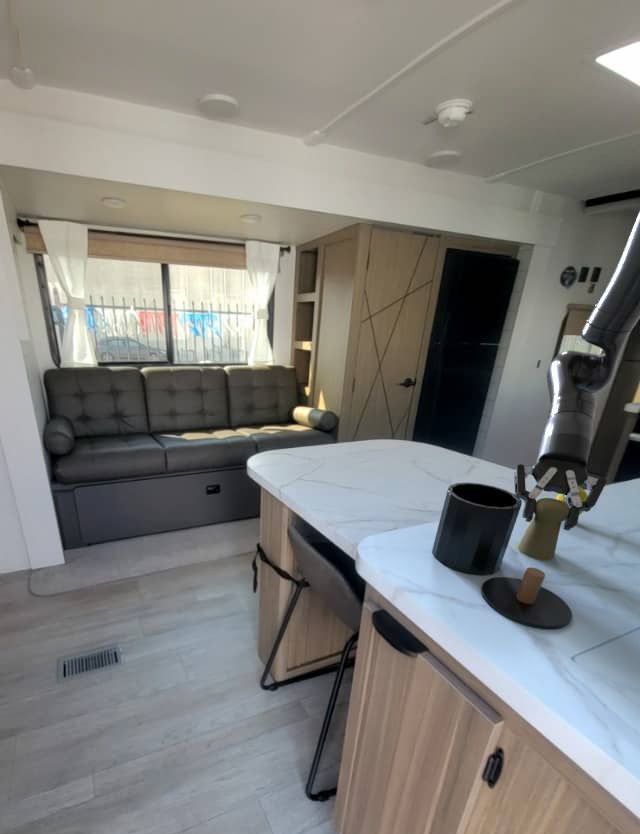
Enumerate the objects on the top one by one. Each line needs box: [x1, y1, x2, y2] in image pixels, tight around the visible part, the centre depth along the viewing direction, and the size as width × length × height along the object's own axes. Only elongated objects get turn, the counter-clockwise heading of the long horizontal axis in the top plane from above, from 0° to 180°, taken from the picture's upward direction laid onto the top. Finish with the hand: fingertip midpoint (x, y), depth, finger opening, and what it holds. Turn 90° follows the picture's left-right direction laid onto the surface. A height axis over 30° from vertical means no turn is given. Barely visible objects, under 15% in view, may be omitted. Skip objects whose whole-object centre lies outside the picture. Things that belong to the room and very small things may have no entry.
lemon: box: [555, 485, 588, 516], centre depth 89 cm, size 6×6×8 cm
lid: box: [480, 567, 573, 630], centre depth 61 cm, size 12×12×6 cm
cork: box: [517, 497, 569, 561], centre depth 74 cm, size 6×6×11 cm
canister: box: [431, 482, 523, 577], centre depth 71 cm, size 11×11×13 cm
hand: (548, 524), depth 72 cm, fingers closed on cork, 5 cm apart
